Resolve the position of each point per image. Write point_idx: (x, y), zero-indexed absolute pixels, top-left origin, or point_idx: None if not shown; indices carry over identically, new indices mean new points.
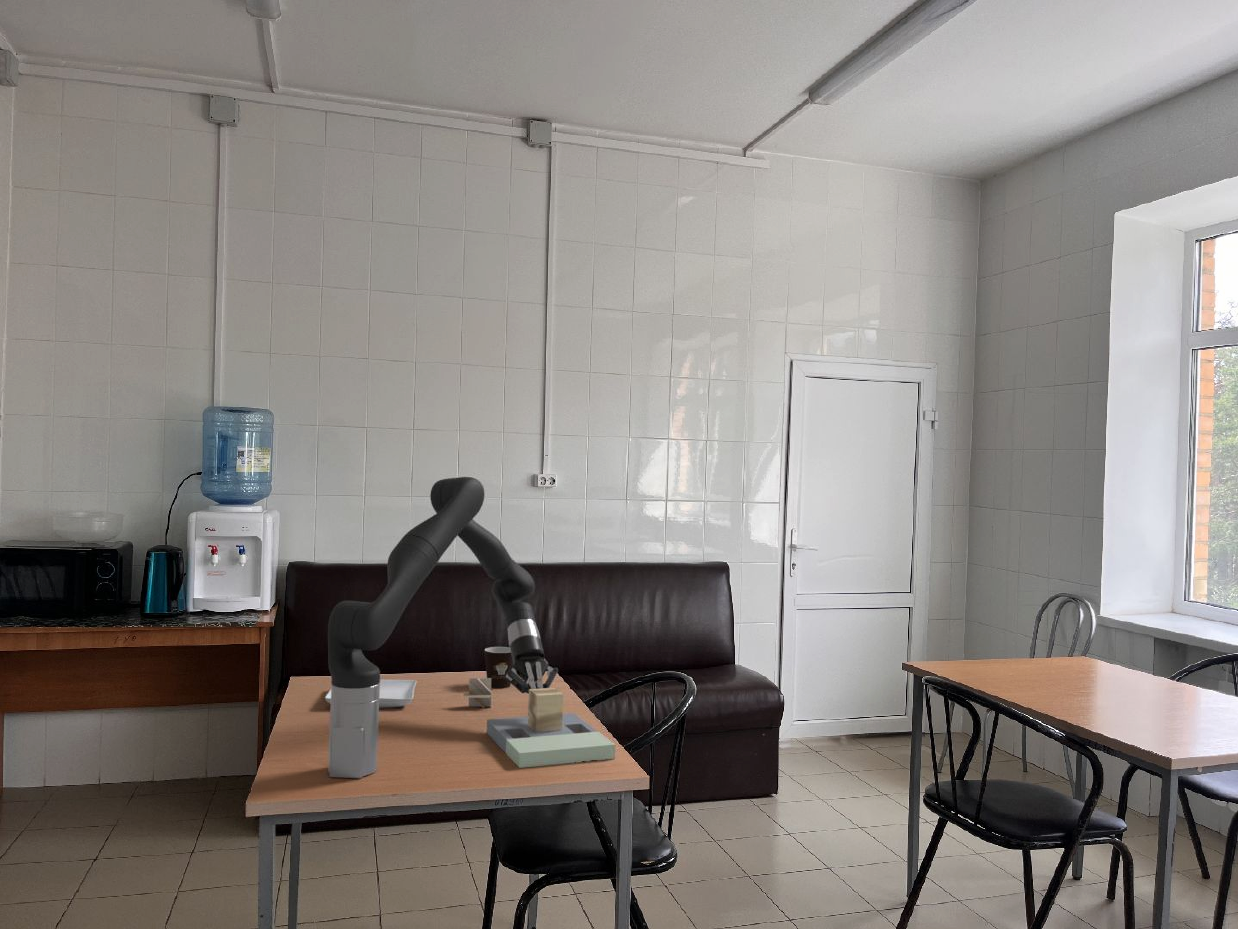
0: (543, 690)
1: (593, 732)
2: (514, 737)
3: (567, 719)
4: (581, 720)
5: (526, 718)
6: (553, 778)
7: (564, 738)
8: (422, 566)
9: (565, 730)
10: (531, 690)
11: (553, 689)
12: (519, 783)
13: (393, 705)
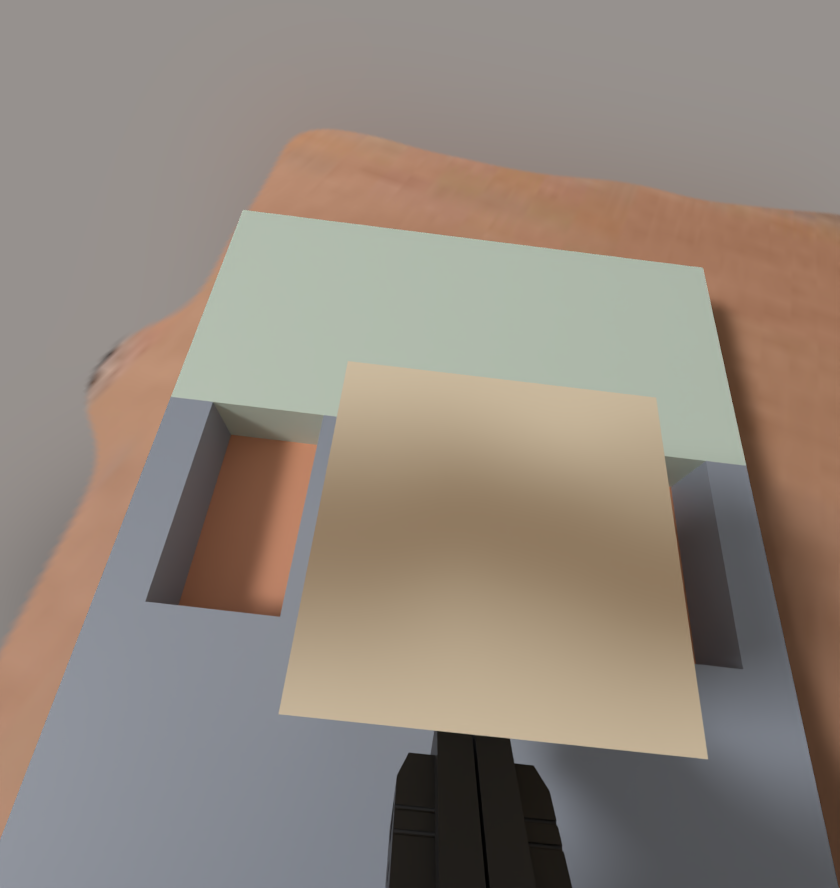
0: (511, 598)
1: (209, 391)
2: None
3: (158, 770)
4: (73, 688)
5: None
6: (572, 200)
7: (425, 360)
8: None
9: None
10: (681, 670)
11: (347, 604)
12: (693, 206)
13: None
